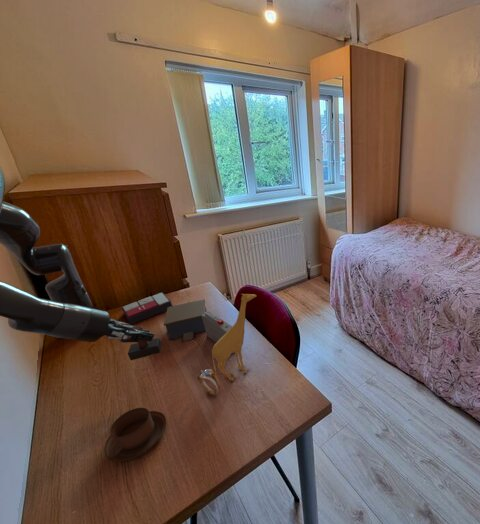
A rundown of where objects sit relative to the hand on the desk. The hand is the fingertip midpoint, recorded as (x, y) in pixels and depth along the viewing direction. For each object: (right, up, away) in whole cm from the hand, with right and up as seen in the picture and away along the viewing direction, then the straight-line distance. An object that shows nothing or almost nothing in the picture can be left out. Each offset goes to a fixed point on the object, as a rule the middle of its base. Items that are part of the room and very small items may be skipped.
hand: (149, 335), depth 80 cm
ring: (+18, -16, -1) cm, 24 cm away
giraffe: (+24, -12, +7) cm, 28 cm away
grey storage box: (-4, -3, +27) cm, 28 cm away
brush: (-1, -5, 0) cm, 5 cm away
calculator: (-26, 0, +37) cm, 45 cm away
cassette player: (+12, -7, +18) cm, 23 cm away
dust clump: (-1, -5, +21) cm, 21 cm away
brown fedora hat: (+7, -21, -13) cm, 26 cm away
